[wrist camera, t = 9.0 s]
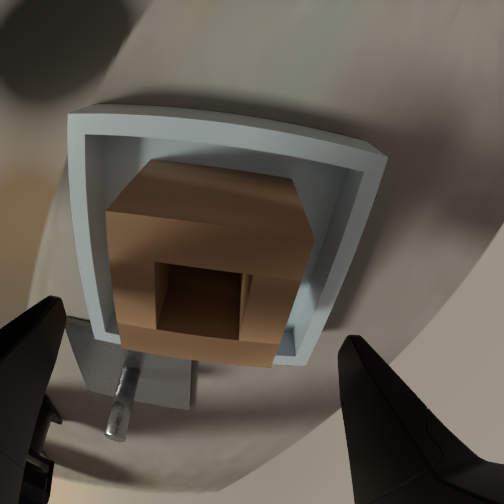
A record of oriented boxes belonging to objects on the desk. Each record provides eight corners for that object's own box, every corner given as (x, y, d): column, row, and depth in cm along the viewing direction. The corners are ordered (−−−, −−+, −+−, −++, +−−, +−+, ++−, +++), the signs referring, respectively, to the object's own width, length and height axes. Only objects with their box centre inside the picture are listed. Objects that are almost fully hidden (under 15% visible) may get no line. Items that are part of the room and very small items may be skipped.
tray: (299, 334, 19) (305, 365, 17) (107, 309, 18) (94, 339, 16) (365, 141, 13) (388, 157, 11) (95, 104, 11) (67, 113, 9)
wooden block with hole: (256, 321, 18) (259, 397, 13) (149, 307, 17) (128, 380, 13) (291, 178, 13) (315, 239, 9) (150, 159, 12) (105, 210, 8)
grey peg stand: (190, 406, 24) (183, 468, 19) (90, 387, 23) (72, 444, 18) (193, 339, 19) (182, 421, 14) (64, 316, 18) (31, 385, 13)
